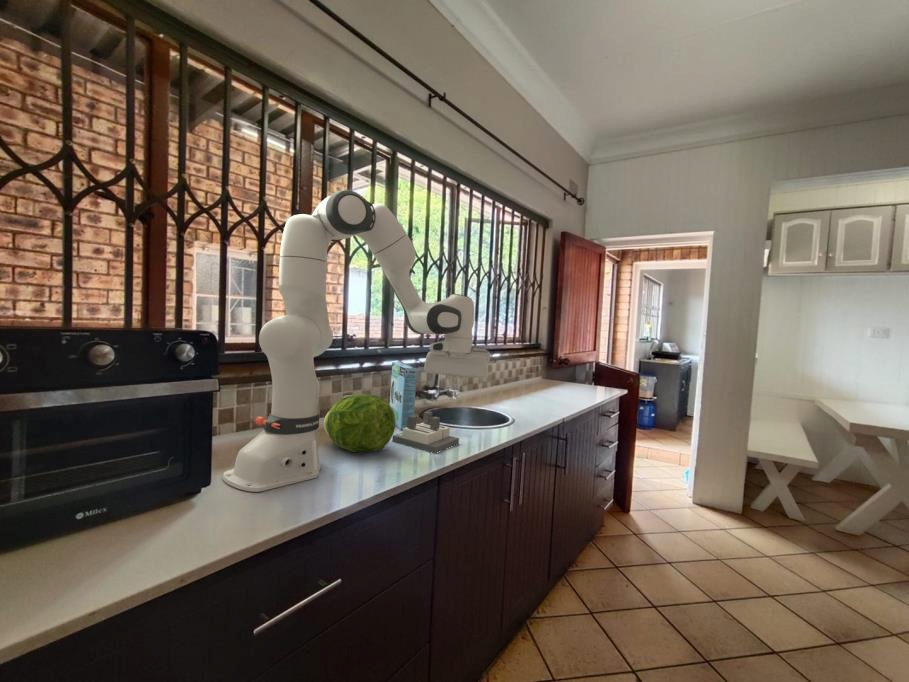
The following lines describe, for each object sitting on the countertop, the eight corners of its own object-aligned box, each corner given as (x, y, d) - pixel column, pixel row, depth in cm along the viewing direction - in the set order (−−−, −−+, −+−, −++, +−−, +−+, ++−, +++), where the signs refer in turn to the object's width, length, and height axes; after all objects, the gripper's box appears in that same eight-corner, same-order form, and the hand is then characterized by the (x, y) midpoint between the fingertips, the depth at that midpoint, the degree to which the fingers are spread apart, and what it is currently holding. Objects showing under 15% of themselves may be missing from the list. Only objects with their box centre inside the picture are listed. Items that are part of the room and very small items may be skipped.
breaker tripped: (435, 429, 131) (436, 418, 130) (430, 428, 132) (430, 417, 131) (439, 428, 133) (440, 417, 132) (434, 427, 134) (435, 416, 133)
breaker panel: (435, 453, 124) (436, 437, 123) (392, 441, 132) (393, 426, 132) (458, 444, 136) (459, 429, 135) (417, 433, 144) (418, 419, 144)
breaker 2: (427, 423, 138) (428, 413, 137) (423, 422, 139) (423, 412, 138) (431, 422, 140) (432, 412, 139) (427, 421, 141) (427, 411, 140)
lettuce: (351, 436, 136) (341, 387, 134) (408, 439, 125) (399, 386, 122) (312, 459, 121) (300, 404, 118) (373, 466, 110) (361, 405, 107)
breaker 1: (411, 428, 130) (412, 417, 130) (406, 427, 131) (407, 416, 131) (416, 427, 132) (417, 416, 132) (411, 426, 133) (412, 415, 133)
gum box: (413, 430, 148) (418, 368, 147) (399, 430, 146) (404, 367, 145) (399, 417, 166) (404, 361, 165) (387, 417, 164) (391, 361, 163)
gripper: (491, 348, 130) (487, 391, 130) (428, 343, 132) (425, 385, 133) (490, 349, 123) (487, 394, 124) (424, 344, 126) (421, 388, 126)
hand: (454, 389), depth 128 cm, fingers closed
